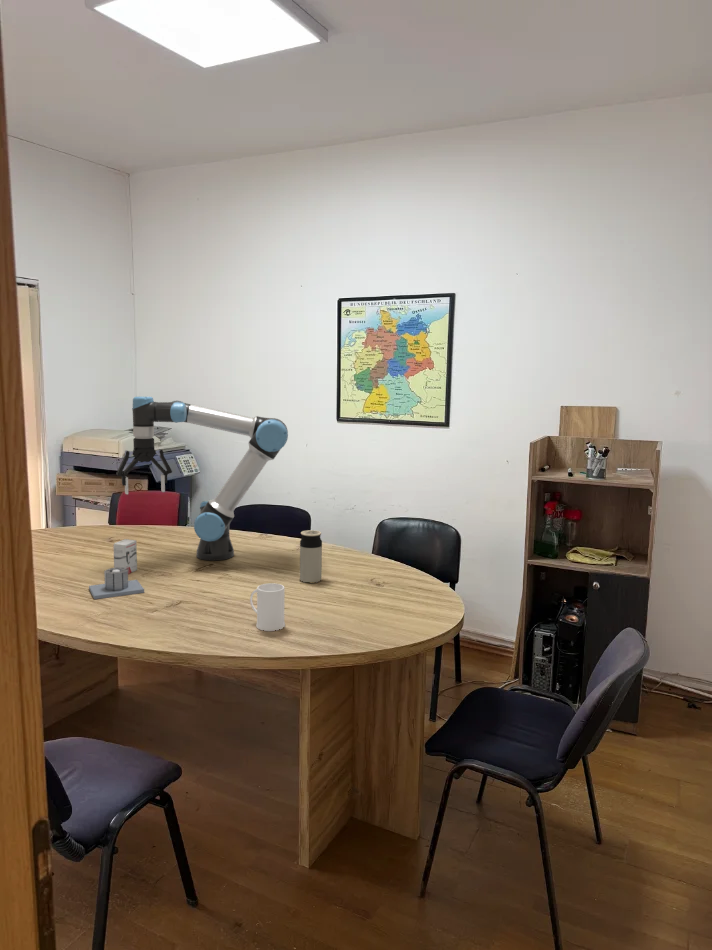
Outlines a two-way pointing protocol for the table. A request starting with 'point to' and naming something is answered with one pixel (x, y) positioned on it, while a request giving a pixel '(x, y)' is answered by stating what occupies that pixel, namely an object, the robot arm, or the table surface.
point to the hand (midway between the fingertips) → (145, 492)
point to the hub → (116, 579)
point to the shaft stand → (101, 592)
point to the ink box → (125, 555)
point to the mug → (269, 606)
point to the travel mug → (311, 556)
